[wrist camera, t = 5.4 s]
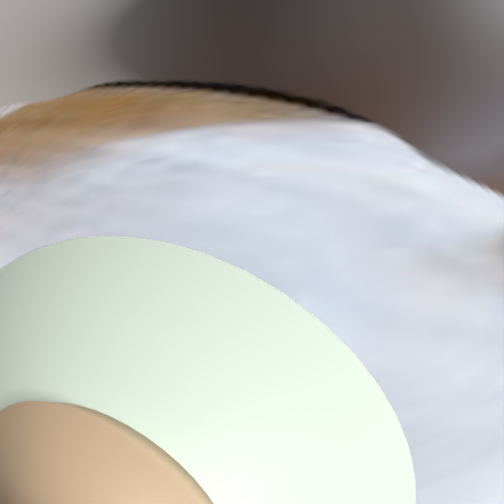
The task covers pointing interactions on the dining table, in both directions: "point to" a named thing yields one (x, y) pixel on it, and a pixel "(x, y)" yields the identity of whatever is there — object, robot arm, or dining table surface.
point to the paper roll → (181, 387)
